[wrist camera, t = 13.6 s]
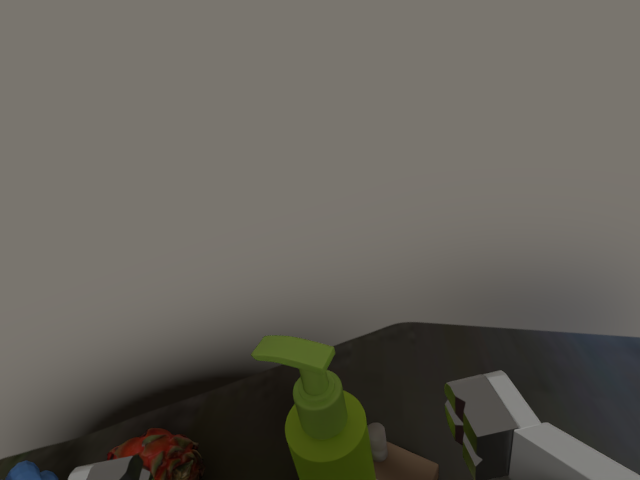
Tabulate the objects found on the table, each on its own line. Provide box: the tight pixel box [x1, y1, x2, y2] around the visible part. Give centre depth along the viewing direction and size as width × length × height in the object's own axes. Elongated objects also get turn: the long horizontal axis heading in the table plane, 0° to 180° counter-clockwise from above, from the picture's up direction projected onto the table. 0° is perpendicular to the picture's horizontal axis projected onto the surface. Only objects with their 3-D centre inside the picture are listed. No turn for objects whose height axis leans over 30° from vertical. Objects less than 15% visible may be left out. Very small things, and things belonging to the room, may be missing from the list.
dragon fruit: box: [107, 428, 205, 480], centre depth 40 cm, size 8×8×12 cm
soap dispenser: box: [251, 335, 376, 480], centre depth 30 cm, size 6×7×20 cm
